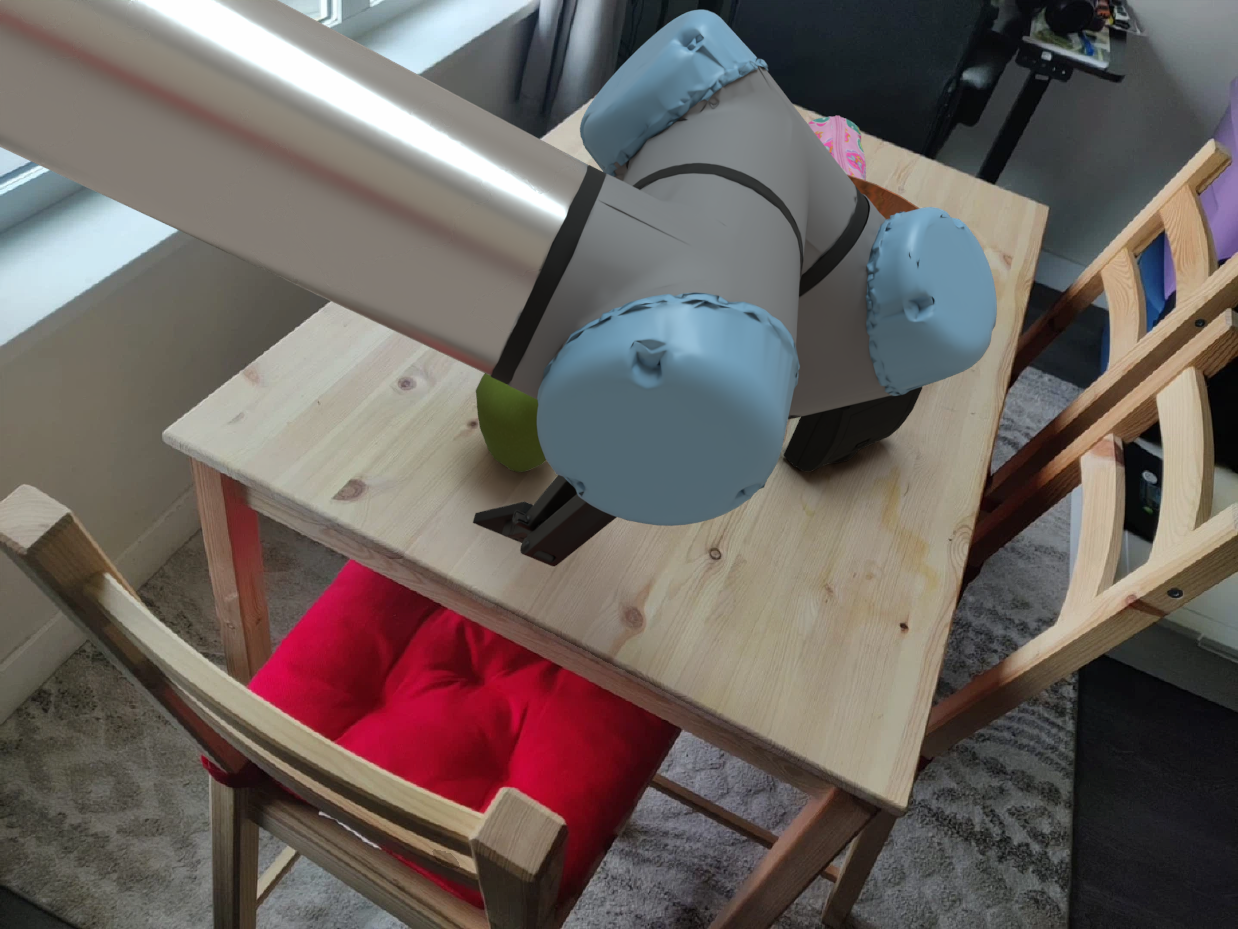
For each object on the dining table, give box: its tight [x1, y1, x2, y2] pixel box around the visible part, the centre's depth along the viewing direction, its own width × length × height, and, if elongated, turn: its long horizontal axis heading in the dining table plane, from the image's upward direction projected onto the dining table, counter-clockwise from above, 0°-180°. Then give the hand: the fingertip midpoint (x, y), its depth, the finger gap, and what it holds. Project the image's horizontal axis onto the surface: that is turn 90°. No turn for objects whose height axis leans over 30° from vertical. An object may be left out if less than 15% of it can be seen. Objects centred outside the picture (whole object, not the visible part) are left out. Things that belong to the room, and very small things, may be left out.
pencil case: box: [807, 115, 867, 181], centre depth 120 cm, size 21×9×9 cm, turn 173°
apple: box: [475, 373, 547, 473], centre depth 78 cm, size 9×8×12 cm
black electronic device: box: [783, 386, 924, 473], centre depth 83 cm, size 12×5×20 cm, turn 125°
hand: (514, 438), depth 67 cm, fingers open, 13 cm apart
